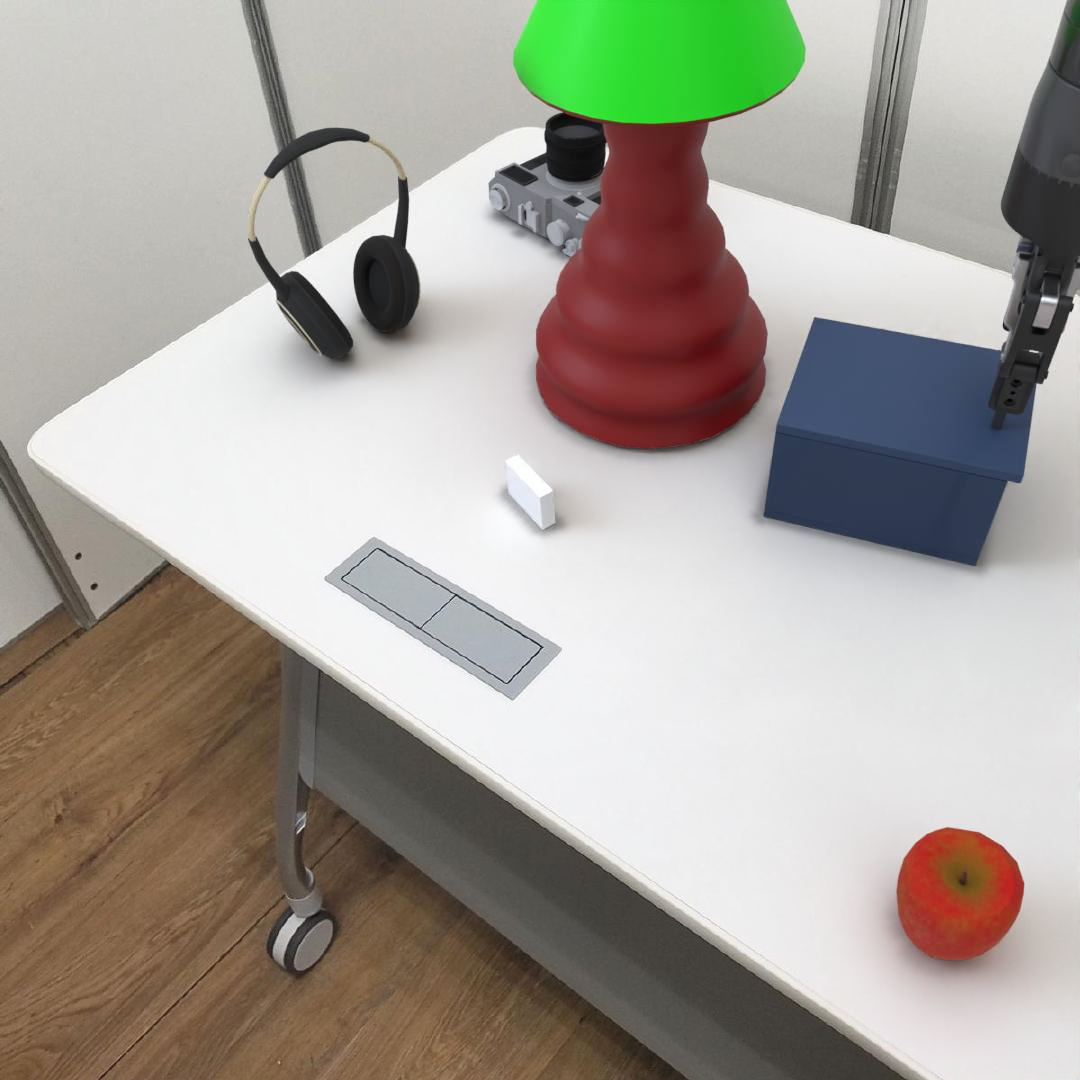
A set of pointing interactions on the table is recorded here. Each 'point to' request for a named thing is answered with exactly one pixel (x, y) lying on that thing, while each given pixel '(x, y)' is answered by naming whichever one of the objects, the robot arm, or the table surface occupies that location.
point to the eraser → (530, 492)
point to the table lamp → (654, 213)
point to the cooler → (881, 498)
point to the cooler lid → (905, 400)
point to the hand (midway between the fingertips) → (1011, 367)
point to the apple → (958, 893)
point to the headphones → (378, 266)
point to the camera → (556, 182)
